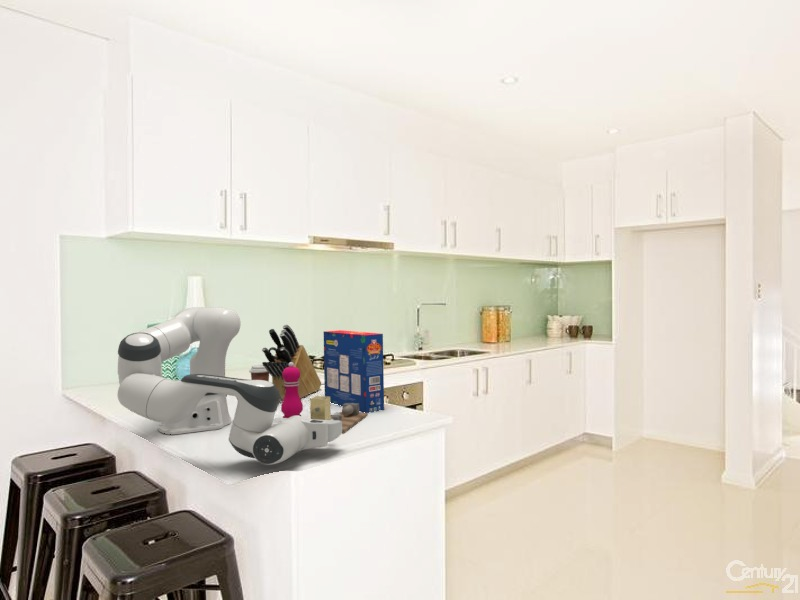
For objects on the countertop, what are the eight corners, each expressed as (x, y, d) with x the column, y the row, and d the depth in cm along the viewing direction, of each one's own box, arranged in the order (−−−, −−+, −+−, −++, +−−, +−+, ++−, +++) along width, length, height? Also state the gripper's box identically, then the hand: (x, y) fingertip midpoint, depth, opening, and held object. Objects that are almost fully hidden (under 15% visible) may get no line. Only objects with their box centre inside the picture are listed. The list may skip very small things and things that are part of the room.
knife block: (260, 405, 210) (258, 325, 209) (298, 389, 244) (297, 320, 244) (287, 406, 207) (285, 325, 207) (322, 389, 241) (320, 320, 241)
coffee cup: (268, 395, 230) (267, 367, 230) (246, 395, 230) (246, 367, 230) (273, 391, 239) (273, 364, 239) (253, 391, 240) (252, 364, 239)
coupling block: (324, 440, 158) (324, 399, 158) (310, 439, 159) (309, 399, 159) (331, 436, 163) (330, 396, 163) (317, 435, 164) (316, 395, 164)
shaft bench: (343, 433, 166) (343, 418, 166) (313, 431, 168) (313, 417, 168) (367, 415, 189) (367, 402, 189) (340, 414, 191) (340, 401, 191)
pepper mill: (293, 417, 188) (292, 360, 188) (307, 420, 183) (306, 361, 183) (276, 421, 182) (275, 362, 182) (290, 424, 178) (289, 364, 177)
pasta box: (384, 410, 198) (382, 333, 197) (366, 413, 193) (364, 335, 192) (341, 399, 219) (340, 330, 219) (324, 401, 214) (323, 331, 214)
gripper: (259, 443, 145) (282, 430, 159) (331, 447, 140) (349, 433, 154) (259, 419, 145) (282, 408, 159) (331, 423, 140) (348, 411, 154)
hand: (315, 421), depth 156 cm, fingers open, 8 cm apart
